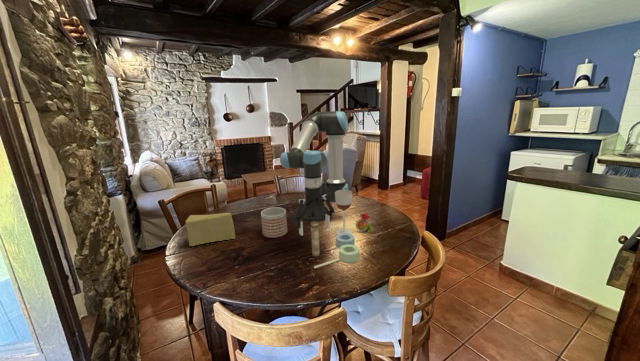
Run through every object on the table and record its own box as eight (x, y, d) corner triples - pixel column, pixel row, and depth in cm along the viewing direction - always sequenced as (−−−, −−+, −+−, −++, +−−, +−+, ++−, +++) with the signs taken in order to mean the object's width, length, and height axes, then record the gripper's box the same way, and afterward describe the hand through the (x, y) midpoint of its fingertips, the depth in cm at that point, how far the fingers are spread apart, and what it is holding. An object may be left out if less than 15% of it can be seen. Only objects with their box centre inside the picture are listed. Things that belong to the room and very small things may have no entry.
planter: (292, 231, 150) (291, 210, 146) (272, 240, 140) (270, 218, 137) (277, 225, 159) (275, 205, 156) (257, 233, 149) (255, 212, 146)
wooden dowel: (310, 253, 126) (309, 222, 122) (317, 251, 127) (316, 220, 123) (314, 257, 123) (312, 225, 119) (321, 255, 124) (320, 223, 120)
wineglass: (354, 229, 150) (354, 190, 144) (350, 237, 141) (349, 195, 135) (338, 227, 153) (337, 189, 147) (333, 235, 144) (332, 194, 138)
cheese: (236, 235, 148) (233, 209, 144) (234, 243, 139) (231, 216, 135) (193, 239, 144) (189, 214, 140) (189, 248, 135) (184, 221, 131)
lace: (313, 268, 114) (313, 266, 114) (339, 259, 120) (339, 257, 120) (314, 269, 113) (314, 267, 113) (340, 260, 119) (340, 258, 119)
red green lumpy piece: (361, 237, 144) (376, 230, 144) (353, 221, 141) (368, 213, 141) (358, 233, 150) (373, 225, 150) (350, 216, 147) (365, 209, 147)
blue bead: (332, 244, 134) (332, 237, 133) (344, 238, 140) (344, 231, 139) (345, 250, 127) (345, 243, 126) (358, 244, 133) (358, 237, 132)
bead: (335, 255, 124) (335, 247, 123) (351, 250, 128) (351, 242, 127) (346, 264, 116) (346, 256, 115) (363, 259, 120) (363, 251, 119)
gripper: (289, 192, 108) (292, 240, 113) (341, 184, 119) (342, 228, 124) (283, 188, 114) (286, 234, 119) (333, 180, 125) (334, 222, 130)
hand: (314, 231), depth 122 cm, fingers open, 13 cm apart
